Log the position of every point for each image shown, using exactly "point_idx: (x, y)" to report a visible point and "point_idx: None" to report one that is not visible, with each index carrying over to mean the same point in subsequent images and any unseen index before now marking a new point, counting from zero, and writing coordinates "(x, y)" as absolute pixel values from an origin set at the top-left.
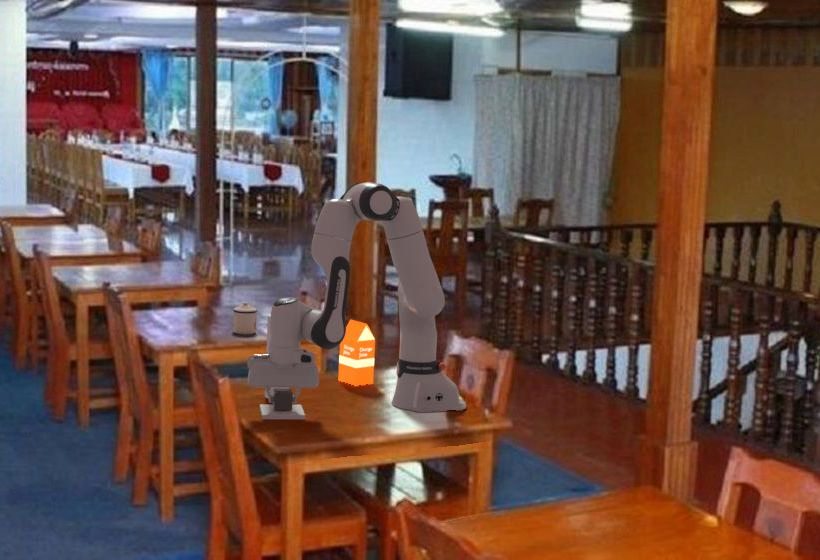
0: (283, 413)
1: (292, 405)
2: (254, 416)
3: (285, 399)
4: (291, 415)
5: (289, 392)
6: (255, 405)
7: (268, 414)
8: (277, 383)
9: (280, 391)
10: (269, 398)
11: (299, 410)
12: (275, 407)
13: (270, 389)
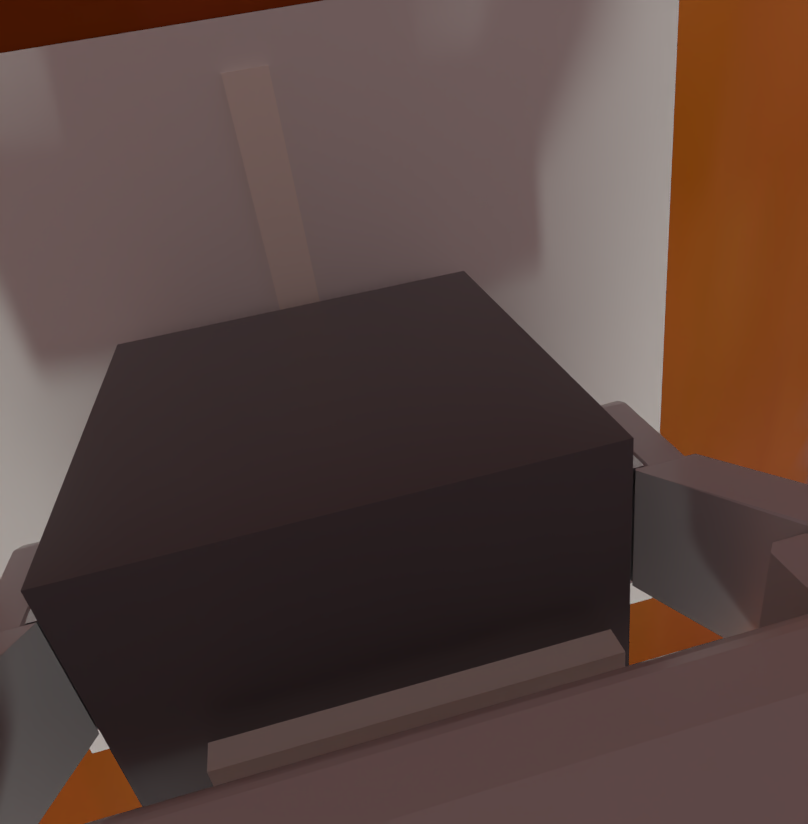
0: (262, 141)
1: None
2: (739, 151)
3: (265, 415)
4: (56, 44)
5: (154, 616)
6: (659, 655)
7: (561, 26)
8: (753, 793)
9: (460, 637)
10: (655, 431)
11: (4, 459)
12: (459, 288)
13: (793, 576)
